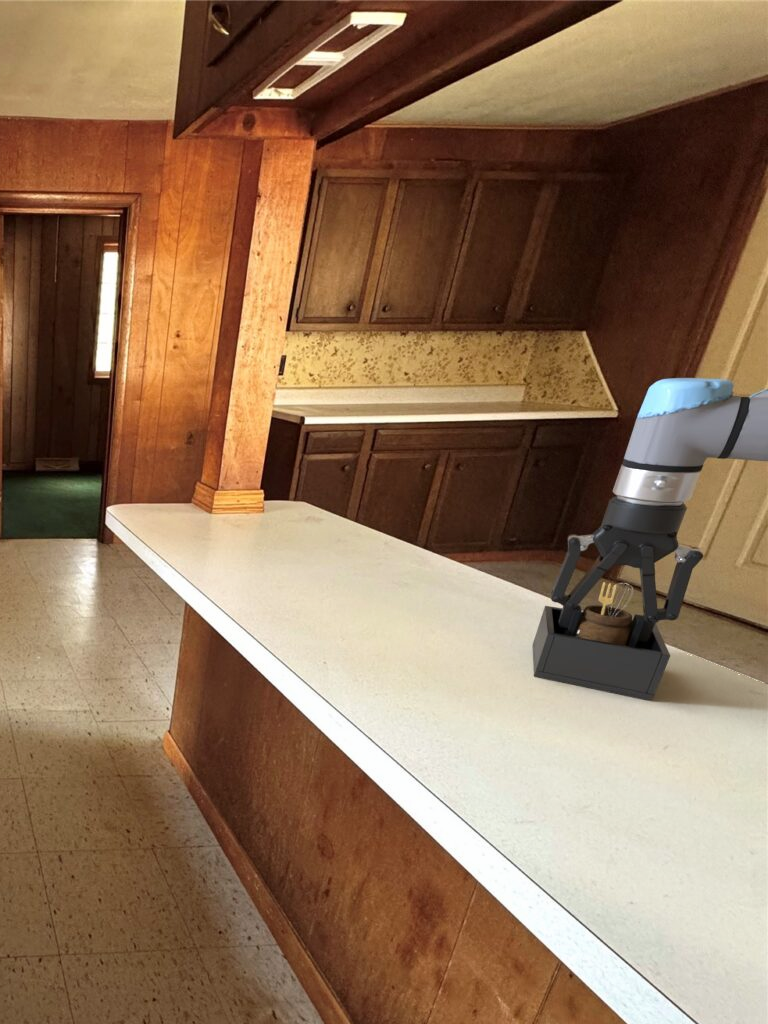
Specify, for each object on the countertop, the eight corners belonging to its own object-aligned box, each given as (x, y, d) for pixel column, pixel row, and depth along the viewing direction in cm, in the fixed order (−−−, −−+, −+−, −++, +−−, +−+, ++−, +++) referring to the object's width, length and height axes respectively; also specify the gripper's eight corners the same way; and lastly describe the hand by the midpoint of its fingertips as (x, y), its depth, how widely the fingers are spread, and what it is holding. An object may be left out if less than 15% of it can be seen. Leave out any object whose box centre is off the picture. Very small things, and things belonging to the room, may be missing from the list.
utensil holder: (627, 657, 96) (657, 580, 92) (608, 668, 94) (638, 589, 89) (577, 642, 101) (603, 569, 97) (557, 652, 98) (583, 577, 94)
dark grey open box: (639, 665, 99) (656, 623, 97) (652, 701, 90) (670, 655, 88) (532, 645, 107) (545, 605, 104) (533, 676, 97) (547, 633, 95)
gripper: (558, 497, 91) (512, 647, 100) (760, 514, 80) (689, 681, 89) (555, 486, 97) (512, 629, 105) (745, 501, 86) (679, 660, 95)
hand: (593, 653), depth 97 cm, fingers closed on utensil holder, 6 cm apart
